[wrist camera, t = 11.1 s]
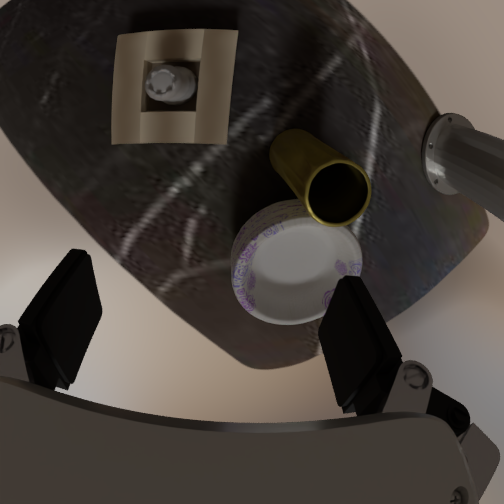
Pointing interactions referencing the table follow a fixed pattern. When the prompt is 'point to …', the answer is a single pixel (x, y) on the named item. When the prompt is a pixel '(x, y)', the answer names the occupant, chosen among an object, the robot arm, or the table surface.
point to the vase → (321, 178)
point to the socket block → (164, 115)
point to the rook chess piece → (171, 84)
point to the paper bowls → (290, 263)
